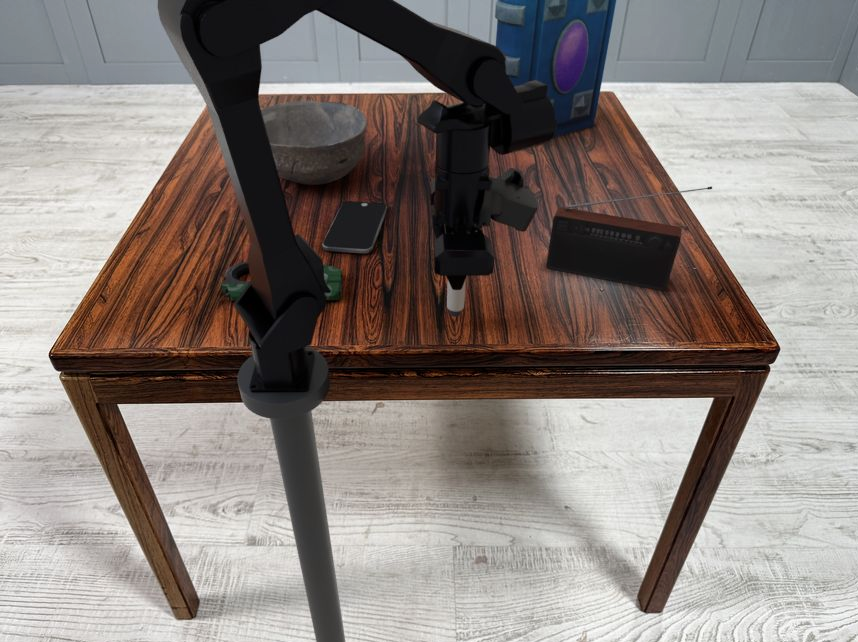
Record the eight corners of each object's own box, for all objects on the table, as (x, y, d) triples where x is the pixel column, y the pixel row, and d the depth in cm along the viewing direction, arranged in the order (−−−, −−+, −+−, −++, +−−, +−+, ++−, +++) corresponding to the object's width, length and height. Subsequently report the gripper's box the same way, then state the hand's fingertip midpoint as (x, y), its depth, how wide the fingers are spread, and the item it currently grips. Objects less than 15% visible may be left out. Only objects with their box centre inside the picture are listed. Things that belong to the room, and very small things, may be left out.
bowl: (281, 214, 106) (273, 155, 100) (236, 168, 119) (226, 113, 113) (391, 183, 115) (389, 127, 108) (337, 143, 128) (333, 91, 121)
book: (507, 154, 124) (525, -26, 105) (479, 139, 130) (491, -36, 110) (598, 128, 134) (630, -41, 115) (569, 115, 140) (594, -49, 120)
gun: (345, 254, 94) (339, 294, 86) (346, 263, 95) (340, 303, 87) (232, 255, 94) (216, 295, 86) (234, 263, 95) (219, 304, 87)
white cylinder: (464, 318, 82) (467, 257, 76) (446, 318, 82) (449, 257, 76) (463, 307, 84) (466, 247, 78) (446, 307, 84) (448, 247, 78)
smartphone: (388, 203, 107) (371, 250, 96) (388, 207, 108) (371, 254, 96) (342, 200, 108) (319, 246, 97) (343, 204, 109) (320, 250, 97)
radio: (545, 269, 94) (560, 171, 84) (549, 259, 96) (564, 162, 86) (680, 296, 89) (712, 194, 79) (681, 284, 91) (713, 184, 81)
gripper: (551, 203, 63) (533, 330, 73) (525, 128, 77) (512, 243, 87) (436, 203, 63) (433, 331, 73) (430, 129, 77) (429, 244, 87)
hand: (456, 283), depth 80 cm, fingers closed on white cylinder, 2 cm apart
